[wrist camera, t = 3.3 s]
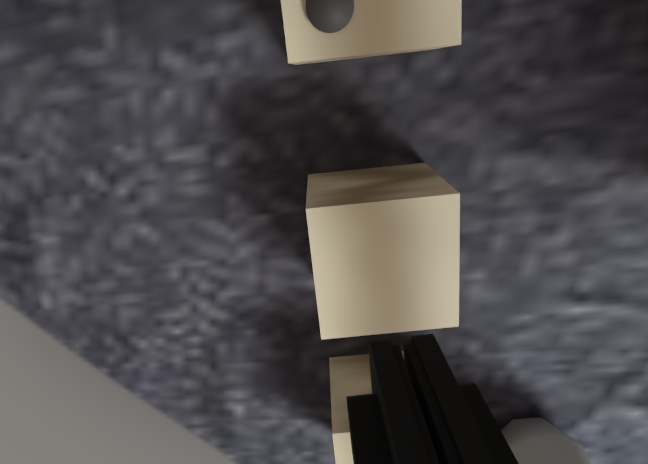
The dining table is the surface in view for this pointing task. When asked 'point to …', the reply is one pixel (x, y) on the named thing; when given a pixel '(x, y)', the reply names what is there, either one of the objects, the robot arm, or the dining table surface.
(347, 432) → the one dot block
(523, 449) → the salt shaker
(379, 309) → the plain block
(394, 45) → the two dot block
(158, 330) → the dining table surface
